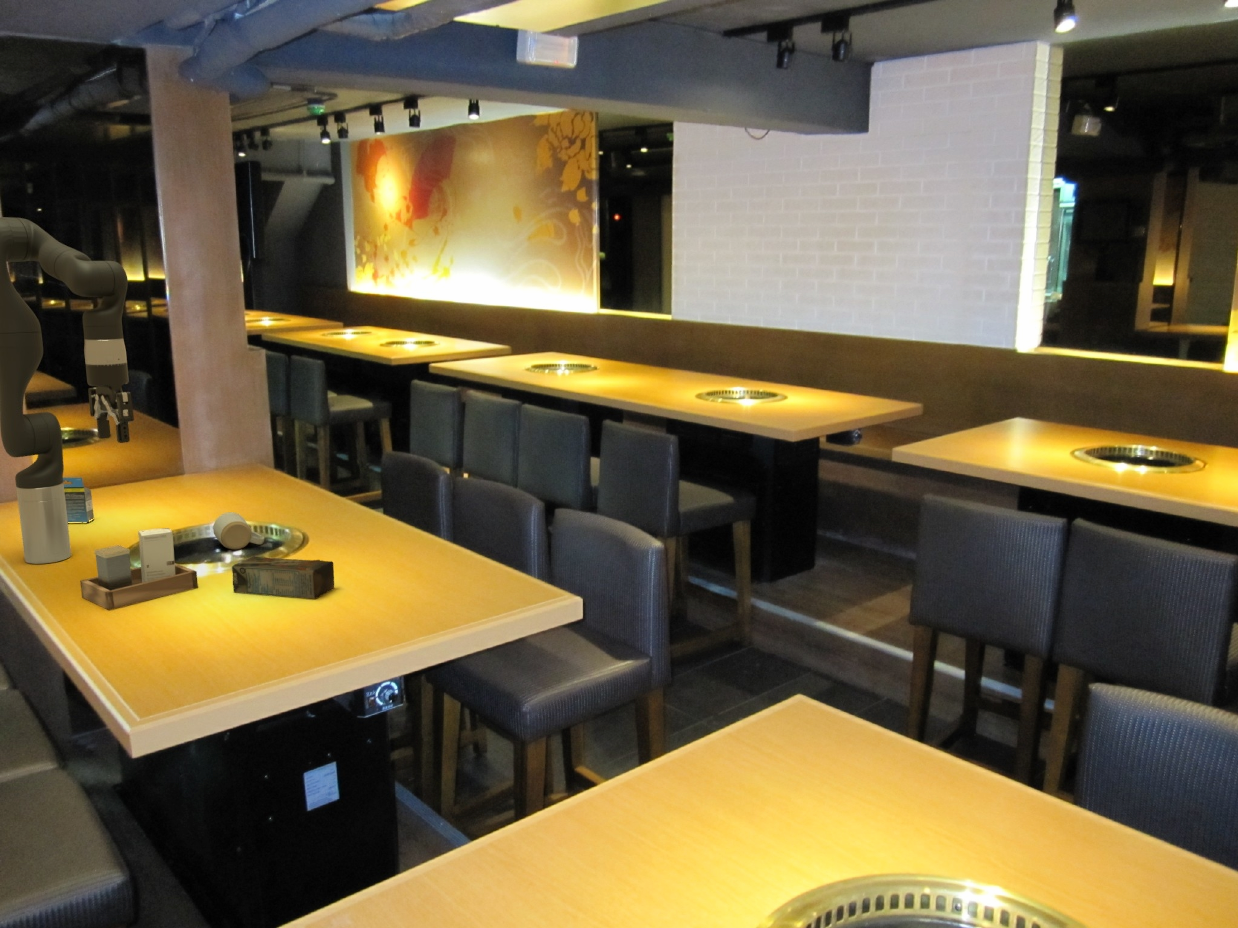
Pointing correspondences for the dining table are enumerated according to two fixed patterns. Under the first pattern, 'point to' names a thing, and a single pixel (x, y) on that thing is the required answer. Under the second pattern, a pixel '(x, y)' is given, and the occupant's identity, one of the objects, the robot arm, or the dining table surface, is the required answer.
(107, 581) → the tea tin
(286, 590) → the beverage carton
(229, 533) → the ceramic mug
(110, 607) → the crate
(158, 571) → the skincare box
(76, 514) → the label tape cartridge
